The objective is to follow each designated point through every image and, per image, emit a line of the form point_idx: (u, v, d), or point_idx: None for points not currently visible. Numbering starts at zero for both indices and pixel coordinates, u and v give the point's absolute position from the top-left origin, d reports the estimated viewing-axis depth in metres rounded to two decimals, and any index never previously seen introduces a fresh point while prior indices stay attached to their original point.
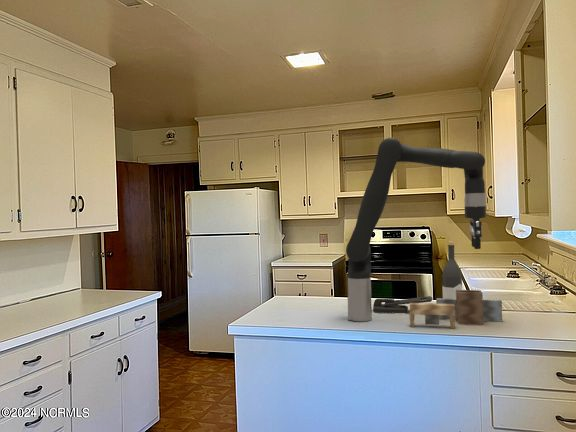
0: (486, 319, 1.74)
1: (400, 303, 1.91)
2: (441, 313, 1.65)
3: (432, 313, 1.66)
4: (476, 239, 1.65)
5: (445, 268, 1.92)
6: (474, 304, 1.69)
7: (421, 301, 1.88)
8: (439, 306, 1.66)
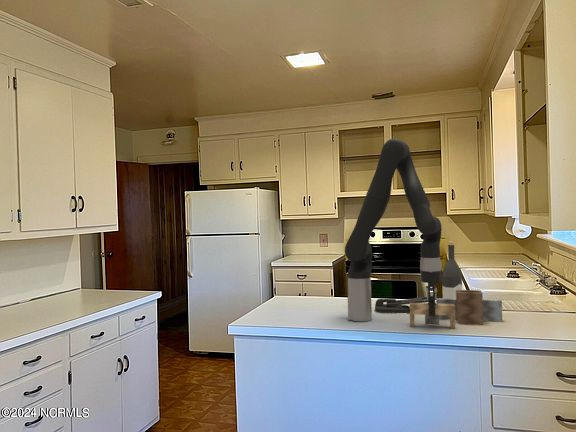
0: (486, 319, 1.74)
1: (402, 303, 1.91)
2: (441, 313, 1.65)
3: None
4: (430, 306, 1.65)
5: (445, 268, 1.92)
6: (474, 304, 1.69)
7: (423, 301, 1.88)
8: (439, 306, 1.66)
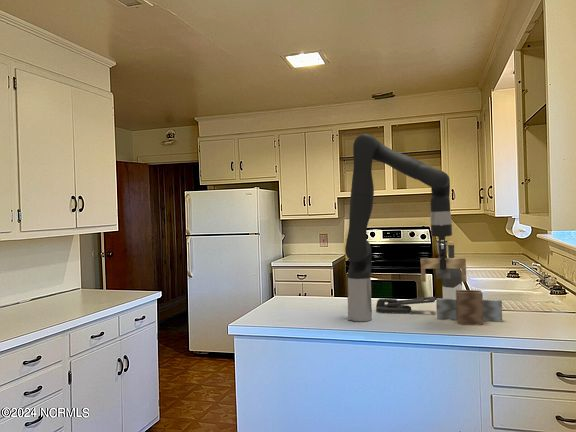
0: (486, 319, 1.74)
1: (403, 303, 1.91)
2: (452, 266, 1.66)
3: None
4: (441, 260, 1.66)
5: None
6: (474, 304, 1.69)
7: (424, 301, 1.87)
8: (450, 260, 1.66)
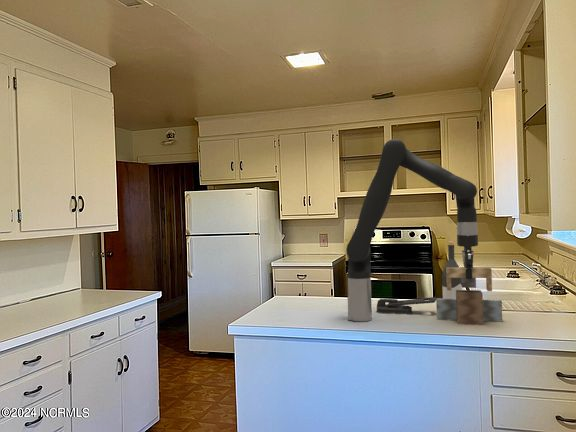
0: (486, 319, 1.74)
1: (403, 303, 1.90)
2: (478, 276, 1.70)
3: None
4: (468, 269, 1.70)
5: (445, 268, 1.92)
6: (474, 304, 1.69)
7: (424, 302, 1.86)
8: (476, 269, 1.70)
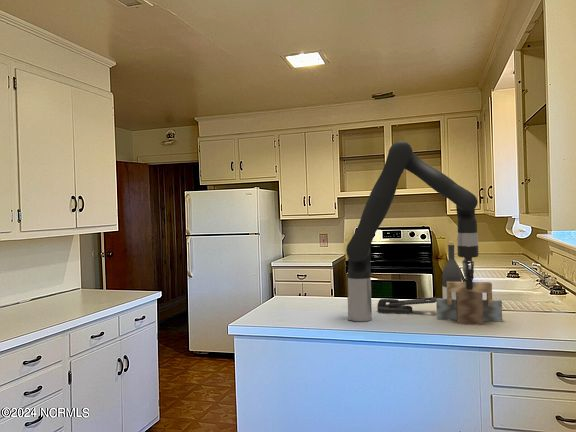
0: (486, 319, 1.74)
1: (404, 303, 1.90)
2: (478, 291, 1.70)
3: (469, 291, 1.71)
4: (468, 280, 1.69)
5: (445, 268, 1.92)
6: (474, 304, 1.69)
7: (425, 302, 1.86)
8: (476, 284, 1.70)
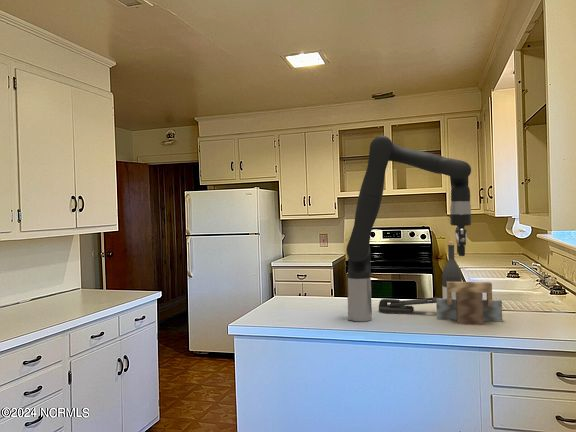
0: (486, 319, 1.74)
1: (405, 304, 1.90)
2: (478, 291, 1.70)
3: (469, 291, 1.71)
4: (460, 246, 1.68)
5: (445, 268, 1.92)
6: (474, 304, 1.69)
7: (426, 302, 1.86)
8: (476, 284, 1.70)
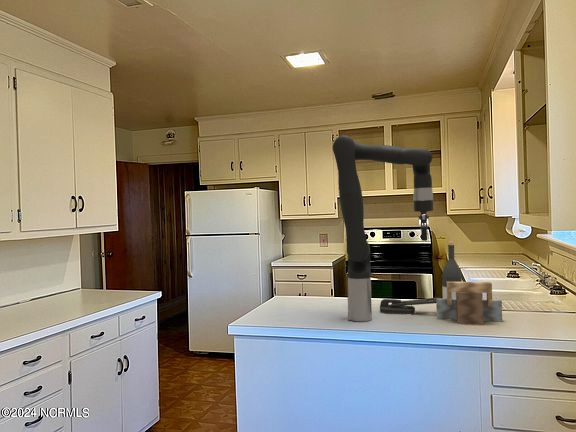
0: (486, 319, 1.74)
1: (406, 304, 1.89)
2: (478, 291, 1.70)
3: (469, 291, 1.71)
4: (423, 231, 1.74)
5: (445, 268, 1.92)
6: (474, 304, 1.69)
7: (427, 302, 1.85)
8: (476, 284, 1.70)
